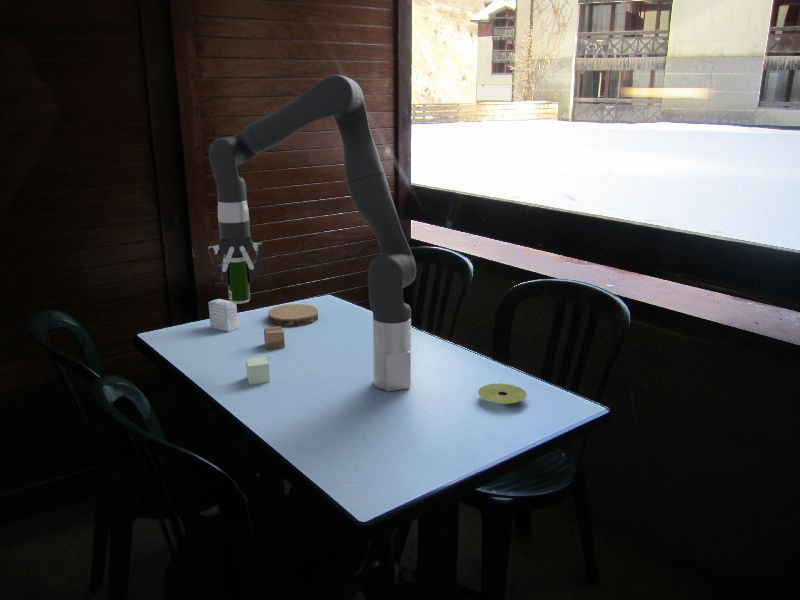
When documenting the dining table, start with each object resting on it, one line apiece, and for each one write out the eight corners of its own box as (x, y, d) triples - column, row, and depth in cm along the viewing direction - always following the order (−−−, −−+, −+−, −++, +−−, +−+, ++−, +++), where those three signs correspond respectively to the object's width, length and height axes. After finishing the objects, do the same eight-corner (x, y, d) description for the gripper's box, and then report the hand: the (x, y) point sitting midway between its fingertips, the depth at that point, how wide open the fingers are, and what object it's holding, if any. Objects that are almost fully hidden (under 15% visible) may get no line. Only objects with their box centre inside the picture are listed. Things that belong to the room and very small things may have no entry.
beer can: (236, 305, 168) (232, 259, 165) (225, 301, 172) (221, 256, 169) (254, 301, 172) (251, 256, 168) (243, 297, 175) (240, 252, 172)
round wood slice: (272, 330, 204) (272, 321, 204) (265, 315, 219) (264, 306, 218) (323, 324, 209) (322, 315, 209) (312, 310, 224) (312, 302, 223)
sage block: (269, 382, 165) (268, 363, 164) (249, 385, 164) (248, 366, 162) (266, 374, 170) (265, 356, 168) (246, 377, 168) (245, 359, 167)
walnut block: (284, 348, 189) (283, 331, 187) (267, 350, 187) (266, 333, 186) (281, 342, 193) (281, 326, 192) (264, 344, 191) (263, 328, 190)
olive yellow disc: (486, 412, 148) (486, 405, 148) (471, 392, 159) (472, 385, 158) (533, 408, 151) (534, 400, 150) (515, 388, 161) (516, 381, 161)
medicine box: (238, 328, 205) (237, 302, 202) (228, 332, 201) (226, 305, 199) (220, 324, 209) (218, 298, 206) (210, 328, 205) (207, 301, 203)
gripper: (205, 223, 160) (211, 290, 165) (264, 219, 165) (268, 285, 169) (203, 218, 167) (208, 283, 172) (260, 215, 172) (264, 278, 176)
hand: (238, 283), depth 170 cm, fingers closed on beer can, 5 cm apart
